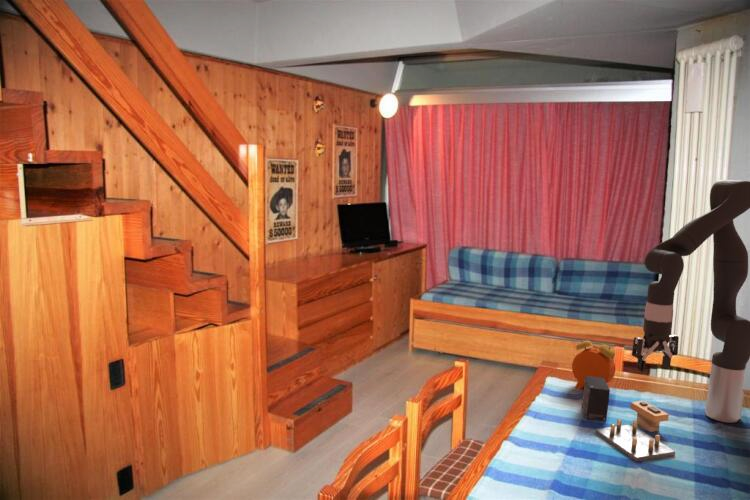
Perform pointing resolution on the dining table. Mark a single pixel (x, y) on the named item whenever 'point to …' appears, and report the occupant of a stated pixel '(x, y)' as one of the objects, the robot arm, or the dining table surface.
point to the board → (649, 411)
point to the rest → (647, 423)
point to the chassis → (634, 442)
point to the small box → (595, 398)
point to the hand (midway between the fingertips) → (653, 370)
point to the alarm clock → (593, 362)
